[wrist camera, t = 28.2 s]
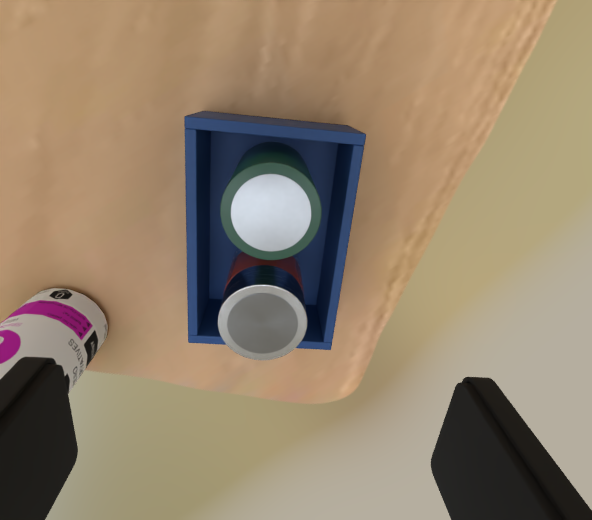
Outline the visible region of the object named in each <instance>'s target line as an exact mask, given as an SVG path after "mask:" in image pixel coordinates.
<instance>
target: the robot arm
mask: <svg viewBox="0 0 592 520" xmlns="http://www.w3.org/2000/svg"><path fill="white" fill-rule="evenodd" d="M77 452H78V448H77V442H76V437H75V431H74V425H73V420H72V415H71V409H70V403H69V397H68V392H67V386H66V381H65V375H64V370H63V367H62V366H61V365H57V364H56V361H55V360H54V359H53V358H47V357H23V358H21V359H20V360H18V361H17V362H16V364H15V365H14V366H13V367H12V368H11V369H10V370H9V371H8V372H7V373H6V374H5V375H4V376H3V377H2V378H1V379H0V520H45V519H46V517H47V515H48V513H49V511H50V509H51V508H52V506H53V504H54V502H55V500H56V498H57V496H58V495H59V493H60V491H61V489H62V487H63V485H64V483H65V481H66V480H67V478H68V475H69V474H70V472H71V470H72V468H73V466H74V464H75V462H76V458H77ZM431 468H432V473H433V476H434V478H435V481H436V483H437V486H438V488H439V491H440V493H441V496H442V498H443V500H444V503H445V505H446V508H447V510H448V513H449V515H450V517H451V520H592V510H591V509H590V508H589V507H588V505H587V504H586V503H585V501H584V500H583V499H582V497H581V496H580V495H579V493H578V492H577V491H576V489H575V488H574V487H573V485H572V484H571V483H570V481H569V480H568V479H567V477H566V476H565V475H564V473H563V472H562V471H561V469H560V468H559V467H558V465H557V464H556V463H555V461H554V460H553V459H552V457H551V456H550V455H549V453H548V452H547V451H546V449H545V448H544V447H543V445H542V444H541V443H540V442H539V440H538V439H537V437H536V436H535V435H534V433H533V432H532V431H531V429H530V428H529V427H528V426H527V424H526V423H525V422H524V420H523V419H522V418H521V416H520V415H519V414H518V412H517V411H516V410H515V408H514V407H513V406H512V404H511V403H510V402H509V400H508V399H507V398H506V396H505V395H504V394H503V392H502V391H501V390H500V388H499V387H498V386H497V384H496V383H495V382H494V381H493V380H492V379H490V378H479V377H466V378H464V379H463V381H462V383H458V384H457V385H456V387H455V390H454V393H453V396H452V399H451V402H450V405H449V408H448V411H447V414H446V417H445V419H444V422H443V425H442V428H441V431H440V435H439V437H438V440H437V443H436V446H435V450H434V452H433V455H432V459H431Z"/></svg>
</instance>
